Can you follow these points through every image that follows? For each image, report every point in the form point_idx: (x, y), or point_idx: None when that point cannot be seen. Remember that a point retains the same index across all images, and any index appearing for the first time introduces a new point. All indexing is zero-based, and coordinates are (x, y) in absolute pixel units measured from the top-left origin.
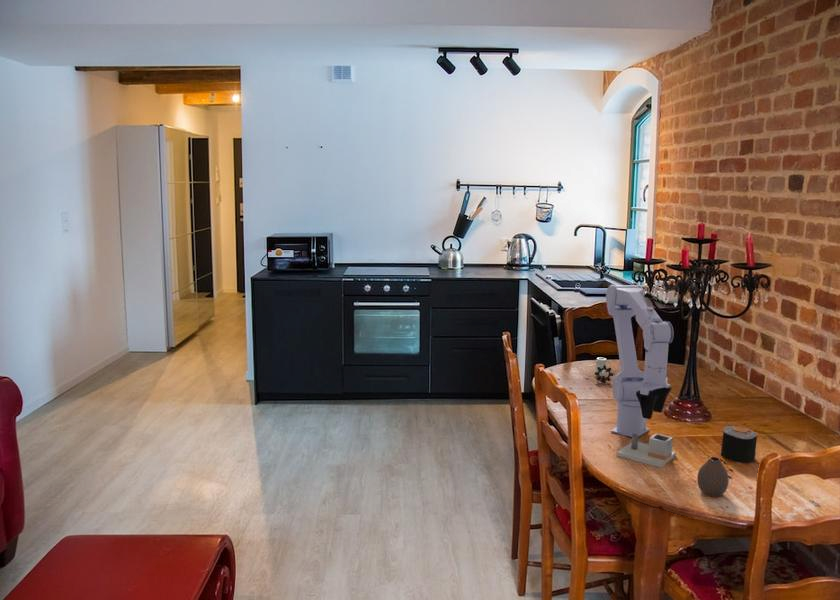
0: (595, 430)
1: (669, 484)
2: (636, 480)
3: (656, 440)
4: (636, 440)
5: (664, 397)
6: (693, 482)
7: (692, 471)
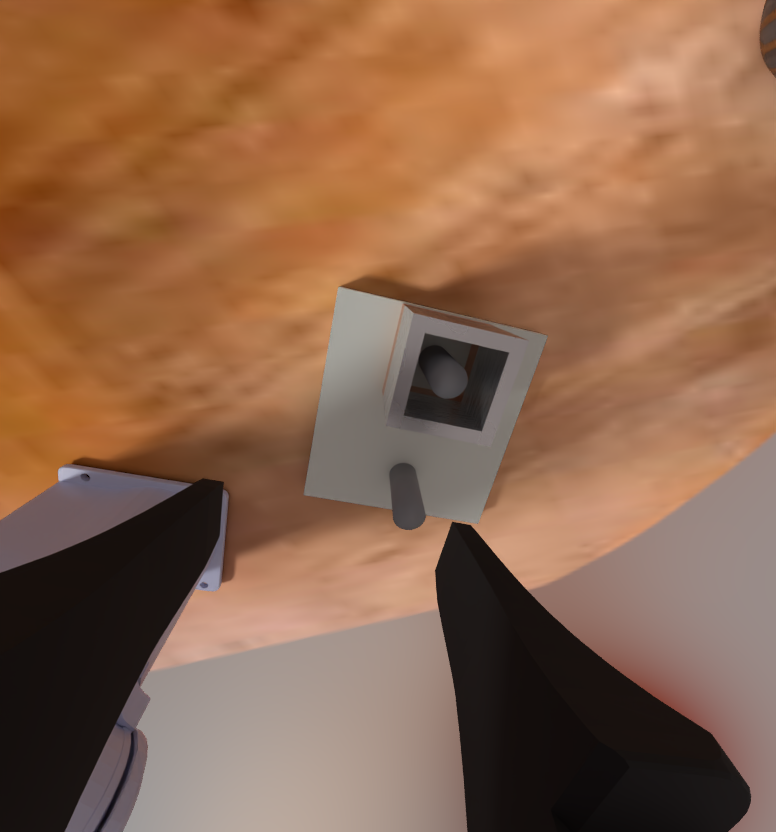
0: (240, 629)
1: (726, 263)
2: (710, 401)
3: (505, 403)
4: (418, 492)
5: (113, 584)
6: (677, 144)
7: (527, 167)
